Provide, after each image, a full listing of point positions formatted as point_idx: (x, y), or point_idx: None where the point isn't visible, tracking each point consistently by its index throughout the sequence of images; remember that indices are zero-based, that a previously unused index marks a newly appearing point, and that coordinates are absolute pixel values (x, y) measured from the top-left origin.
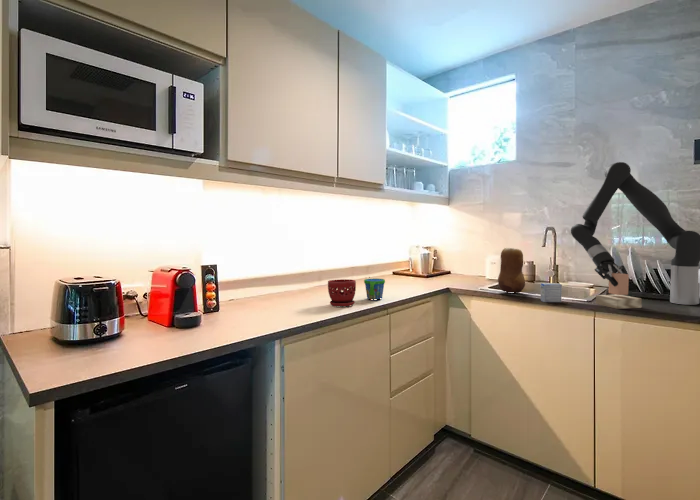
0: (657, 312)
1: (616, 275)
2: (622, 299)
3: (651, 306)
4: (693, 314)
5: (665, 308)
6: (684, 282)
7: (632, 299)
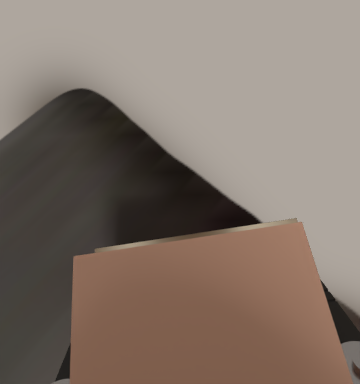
0: (138, 150)
1: (309, 274)
2: (250, 225)
3: (25, 297)
4: (30, 119)
5: (9, 238)
6: None
7: (169, 238)
